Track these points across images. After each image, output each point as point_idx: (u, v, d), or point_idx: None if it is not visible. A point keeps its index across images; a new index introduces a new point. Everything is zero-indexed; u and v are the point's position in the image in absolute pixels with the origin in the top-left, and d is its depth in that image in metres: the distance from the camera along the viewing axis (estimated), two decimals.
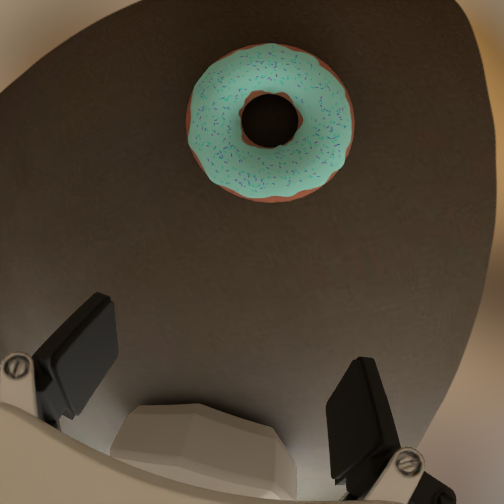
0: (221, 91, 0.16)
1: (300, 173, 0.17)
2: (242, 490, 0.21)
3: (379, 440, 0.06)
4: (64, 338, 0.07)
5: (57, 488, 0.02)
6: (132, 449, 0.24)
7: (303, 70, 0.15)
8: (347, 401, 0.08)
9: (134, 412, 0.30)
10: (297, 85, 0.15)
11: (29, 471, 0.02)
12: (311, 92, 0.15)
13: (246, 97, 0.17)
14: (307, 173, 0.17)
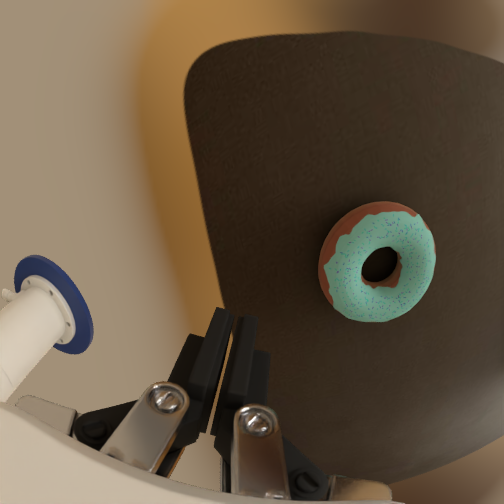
0: (362, 304, 0.23)
1: (425, 253, 0.21)
2: None
3: (228, 389, 0.07)
4: (212, 359, 0.08)
5: (57, 488, 0.02)
6: None
7: (355, 249, 0.22)
8: None
9: None
10: (365, 252, 0.22)
11: (29, 471, 0.02)
12: (372, 243, 0.21)
13: (365, 284, 0.24)
14: (426, 248, 0.21)
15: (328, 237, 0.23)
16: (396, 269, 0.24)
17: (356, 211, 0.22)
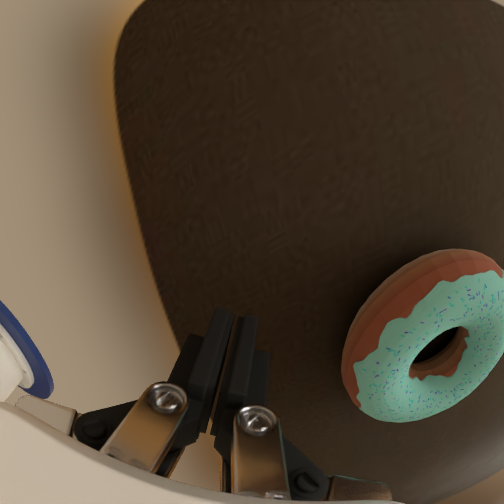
0: (403, 408, 0.12)
1: None
2: None
3: (228, 389, 0.07)
4: (212, 359, 0.08)
5: (57, 488, 0.02)
6: None
7: (412, 342, 0.11)
8: None
9: None
10: (426, 343, 0.11)
11: (29, 471, 0.02)
12: (441, 330, 0.10)
13: (411, 379, 0.13)
14: None
15: (365, 316, 0.12)
16: (455, 347, 0.13)
17: (419, 271, 0.11)
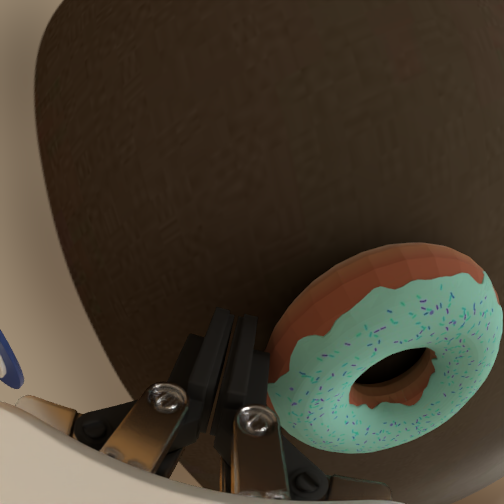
0: (344, 440, 0.10)
1: (486, 355, 0.08)
2: None
3: (228, 389, 0.07)
4: (212, 359, 0.08)
5: (57, 488, 0.02)
6: None
7: (336, 368, 0.08)
8: None
9: None
10: (362, 370, 0.09)
11: (29, 471, 0.02)
12: (381, 354, 0.08)
13: (355, 407, 0.10)
14: (490, 345, 0.08)
15: (278, 328, 0.10)
16: (421, 369, 0.11)
17: (348, 273, 0.09)
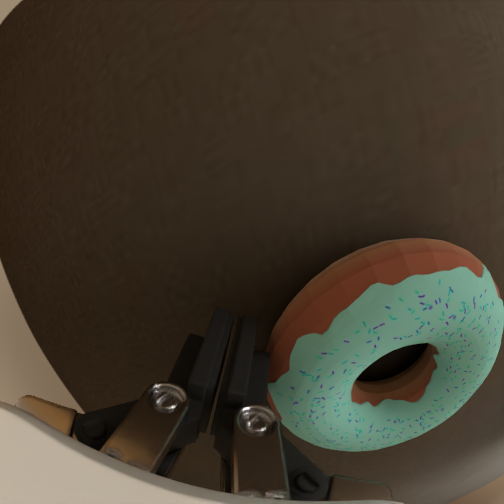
0: (348, 438, 0.10)
1: (488, 349, 0.08)
2: None
3: (228, 389, 0.07)
4: (212, 359, 0.08)
5: (57, 488, 0.02)
6: None
7: (336, 366, 0.08)
8: None
9: None
10: (362, 367, 0.09)
11: (29, 471, 0.02)
12: (381, 351, 0.08)
13: (358, 405, 0.10)
14: (492, 339, 0.08)
15: (278, 327, 0.10)
16: (424, 365, 0.11)
17: (346, 270, 0.09)
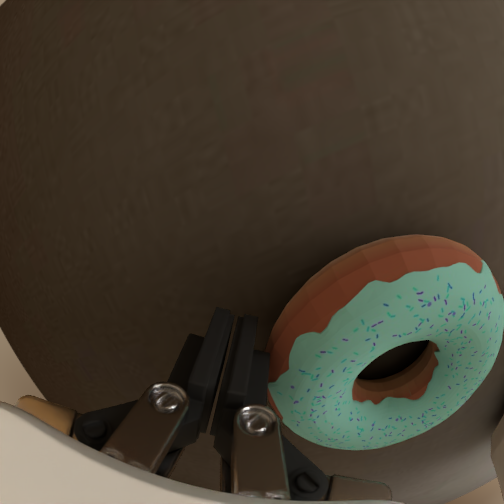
0: (349, 437, 0.10)
1: (489, 345, 0.08)
2: None
3: (228, 389, 0.07)
4: (212, 359, 0.08)
5: (57, 488, 0.02)
6: None
7: (336, 364, 0.08)
8: None
9: (492, 450, 0.13)
10: (362, 365, 0.09)
11: (29, 471, 0.02)
12: (380, 348, 0.08)
13: (360, 403, 0.10)
14: (492, 335, 0.07)
15: (277, 327, 0.10)
16: (425, 362, 0.11)
17: (343, 268, 0.09)
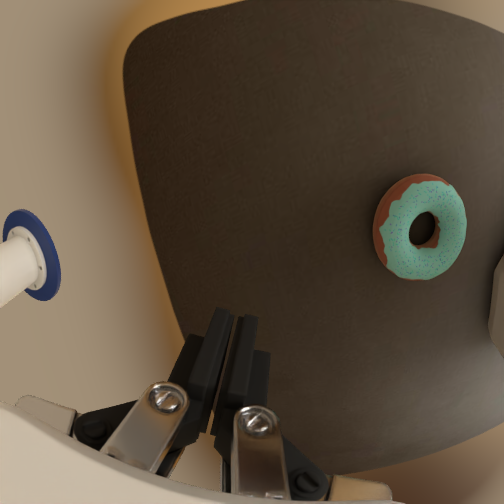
0: (411, 262, 0.25)
1: (459, 216, 0.23)
2: None
3: (228, 389, 0.07)
4: (212, 359, 0.08)
5: (57, 488, 0.02)
6: None
7: (405, 212, 0.24)
8: None
9: (490, 332, 0.28)
10: (412, 215, 0.24)
11: (29, 471, 0.02)
12: (418, 207, 0.23)
13: (412, 245, 0.26)
14: (459, 212, 0.23)
15: (381, 204, 0.25)
16: (435, 233, 0.26)
17: (402, 181, 0.24)
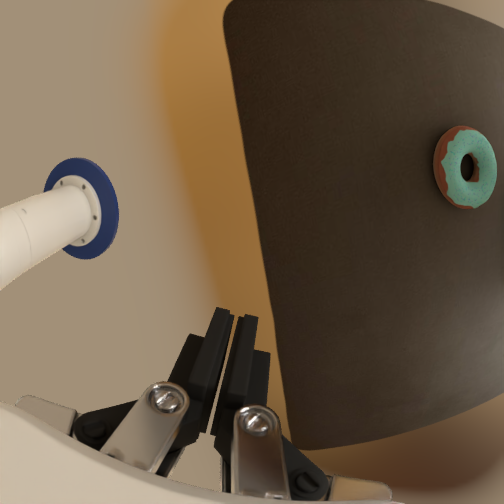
0: (464, 189, 0.28)
1: (491, 158, 0.26)
2: None
3: (228, 389, 0.07)
4: (212, 359, 0.08)
5: (57, 488, 0.02)
6: None
7: (457, 149, 0.26)
8: None
9: None
10: (462, 153, 0.27)
11: (29, 471, 0.02)
12: (465, 147, 0.26)
13: (462, 178, 0.28)
14: (491, 154, 0.25)
15: (439, 144, 0.28)
16: (475, 172, 0.29)
17: (452, 129, 0.27)
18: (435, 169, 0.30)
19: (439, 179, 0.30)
